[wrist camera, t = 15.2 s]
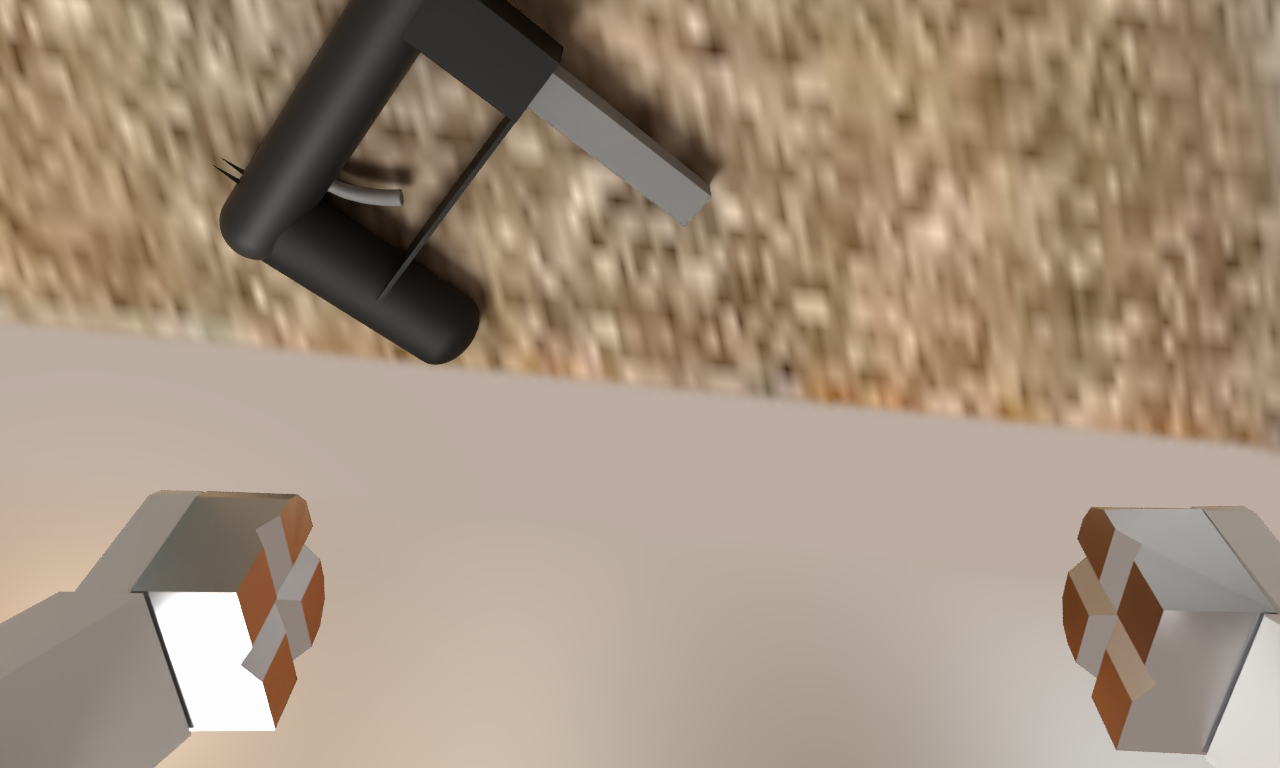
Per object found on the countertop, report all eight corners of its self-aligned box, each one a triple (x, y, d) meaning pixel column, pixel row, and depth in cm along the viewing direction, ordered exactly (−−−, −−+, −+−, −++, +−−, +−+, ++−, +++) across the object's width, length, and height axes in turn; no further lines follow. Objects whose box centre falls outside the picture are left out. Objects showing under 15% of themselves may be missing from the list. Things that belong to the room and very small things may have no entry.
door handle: (817, 87, 37) (446, -237, 31) (506, 434, 45) (169, 228, 40) (804, 62, 40) (462, -239, 34) (513, 394, 48) (200, 196, 42)
